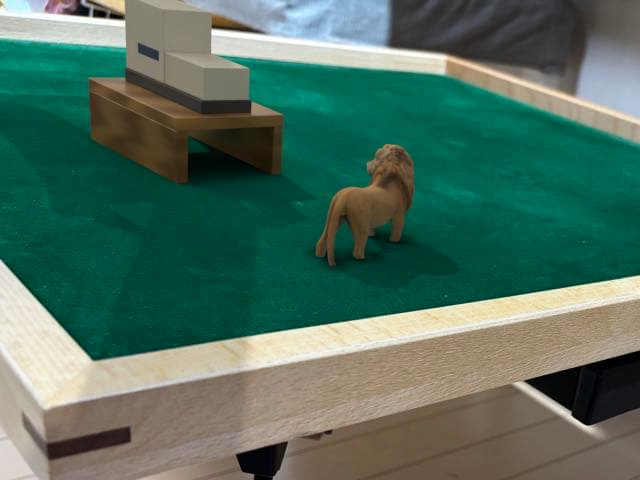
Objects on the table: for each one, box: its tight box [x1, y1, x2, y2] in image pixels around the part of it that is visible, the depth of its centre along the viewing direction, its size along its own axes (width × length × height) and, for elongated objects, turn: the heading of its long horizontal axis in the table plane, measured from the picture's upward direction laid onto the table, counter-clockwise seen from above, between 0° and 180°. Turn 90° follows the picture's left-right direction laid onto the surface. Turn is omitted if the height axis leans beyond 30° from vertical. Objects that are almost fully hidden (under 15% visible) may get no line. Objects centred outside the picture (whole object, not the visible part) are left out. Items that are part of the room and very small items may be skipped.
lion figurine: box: [315, 143, 415, 267], centre depth 76 cm, size 15×5×9 cm, turn 169°
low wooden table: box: [87, 77, 285, 184], centre depth 89 cm, size 15×12×7 cm
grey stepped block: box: [124, 0, 253, 114], centre depth 86 cm, size 13×6×8 cm, turn 52°
